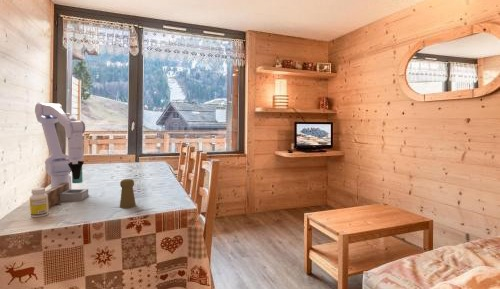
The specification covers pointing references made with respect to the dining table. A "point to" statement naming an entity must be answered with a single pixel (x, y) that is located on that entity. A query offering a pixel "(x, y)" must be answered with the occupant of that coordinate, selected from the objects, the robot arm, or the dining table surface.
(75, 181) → the dowel
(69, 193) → the socket block
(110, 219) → the dining table surface
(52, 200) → the rail
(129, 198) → the cork
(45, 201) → the supplement bottle
